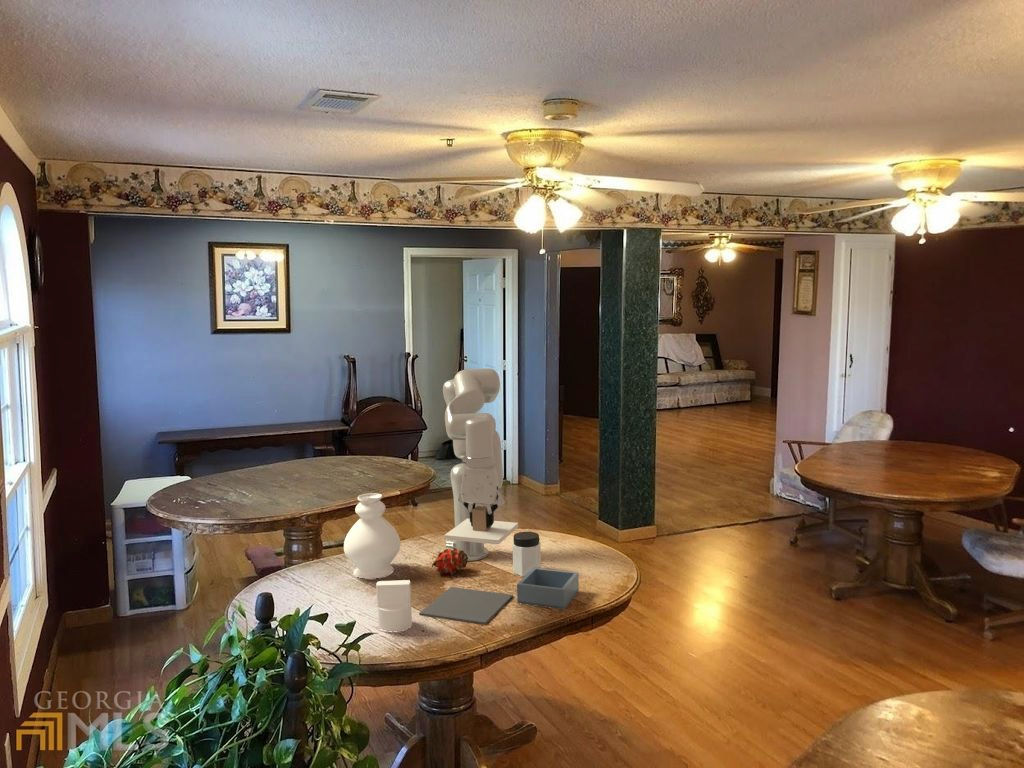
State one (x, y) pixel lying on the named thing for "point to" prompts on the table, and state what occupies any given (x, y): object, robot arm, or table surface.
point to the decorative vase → (371, 539)
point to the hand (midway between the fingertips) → (481, 525)
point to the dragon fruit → (450, 561)
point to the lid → (481, 529)
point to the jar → (526, 552)
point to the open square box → (548, 588)
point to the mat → (467, 605)
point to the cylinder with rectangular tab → (394, 605)
